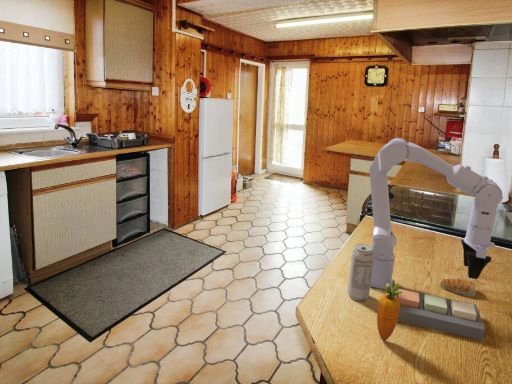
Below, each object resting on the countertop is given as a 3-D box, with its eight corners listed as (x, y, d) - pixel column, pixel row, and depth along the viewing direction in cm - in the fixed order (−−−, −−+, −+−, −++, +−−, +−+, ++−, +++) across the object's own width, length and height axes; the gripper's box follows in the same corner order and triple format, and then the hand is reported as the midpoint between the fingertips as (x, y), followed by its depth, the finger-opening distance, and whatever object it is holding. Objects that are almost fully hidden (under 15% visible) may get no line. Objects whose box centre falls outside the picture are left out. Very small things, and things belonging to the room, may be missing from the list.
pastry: (440, 291, 110) (442, 280, 109) (439, 281, 116) (441, 270, 115) (475, 299, 106) (478, 287, 105) (473, 289, 112) (475, 277, 111)
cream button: (451, 320, 92) (454, 309, 91) (449, 310, 97) (451, 299, 96) (474, 325, 90) (476, 314, 90) (471, 314, 95) (473, 304, 94)
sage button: (423, 313, 94) (425, 303, 94) (422, 304, 99) (424, 294, 98) (445, 318, 93) (447, 308, 92) (443, 308, 97) (445, 298, 96)
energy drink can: (368, 292, 107) (375, 245, 103) (368, 303, 101) (375, 253, 97) (347, 288, 108) (353, 241, 105) (346, 299, 103) (351, 249, 99)
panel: (389, 318, 94) (391, 308, 94) (391, 296, 105) (392, 287, 105) (482, 340, 87) (485, 330, 86) (474, 314, 98) (476, 304, 97)
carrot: (389, 334, 88) (398, 277, 84) (398, 347, 84) (407, 289, 80) (369, 333, 88) (377, 277, 84) (376, 347, 83) (385, 288, 79)
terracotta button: (397, 307, 97) (398, 297, 96) (397, 298, 101) (398, 288, 100) (417, 312, 95) (419, 302, 94) (416, 302, 99) (418, 293, 99)
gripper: (504, 237, 89) (492, 287, 93) (491, 220, 103) (481, 264, 106) (472, 232, 92) (461, 281, 95) (463, 215, 105) (454, 259, 109)
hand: (470, 271), depth 101 cm, fingers open, 7 cm apart
